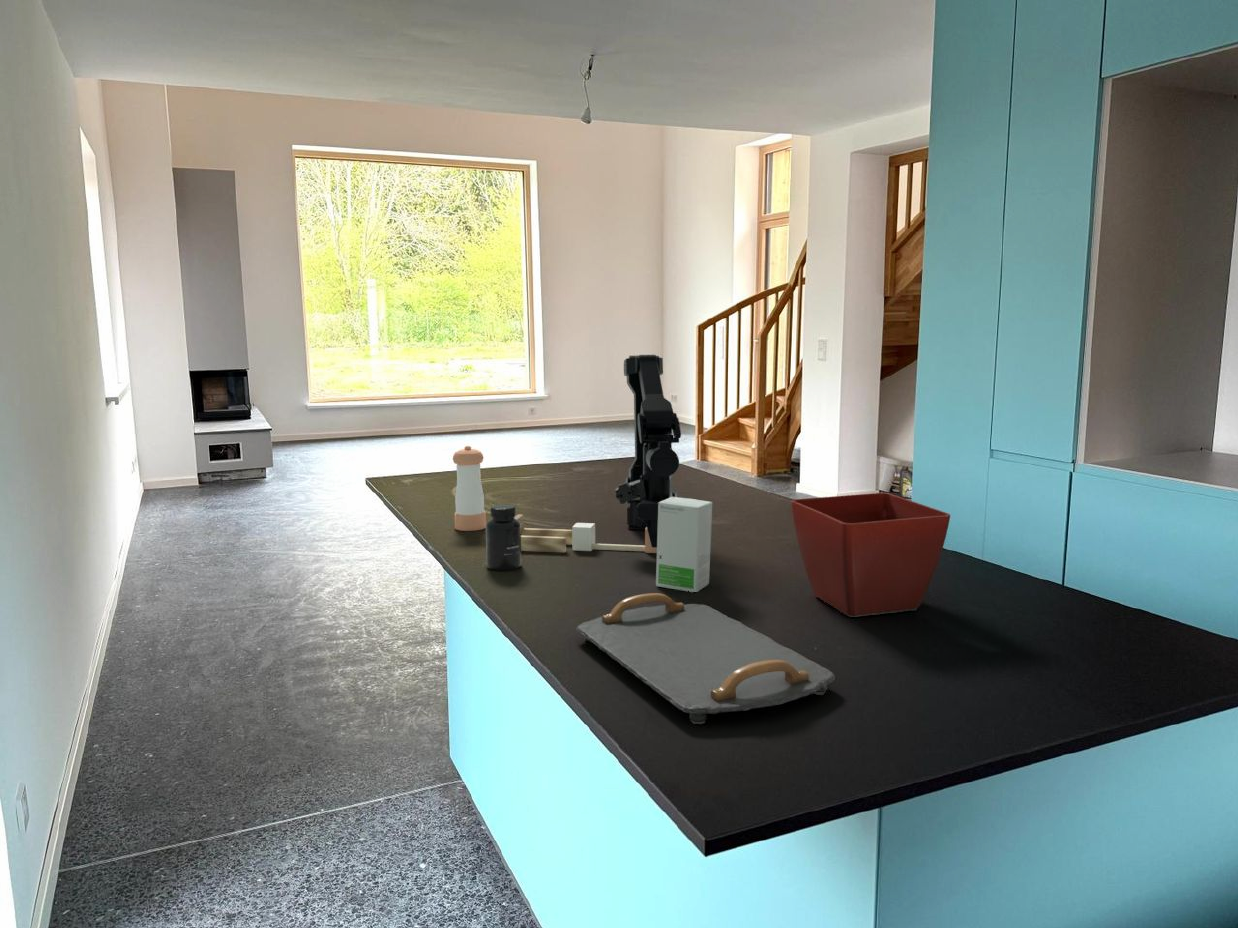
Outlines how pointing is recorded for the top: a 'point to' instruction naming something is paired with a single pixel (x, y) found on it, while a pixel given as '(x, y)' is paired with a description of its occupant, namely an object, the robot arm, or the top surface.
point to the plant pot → (869, 550)
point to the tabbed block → (586, 542)
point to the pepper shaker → (469, 491)
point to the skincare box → (683, 544)
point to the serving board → (702, 657)
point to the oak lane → (544, 538)
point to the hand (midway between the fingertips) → (657, 542)
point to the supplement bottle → (503, 539)
